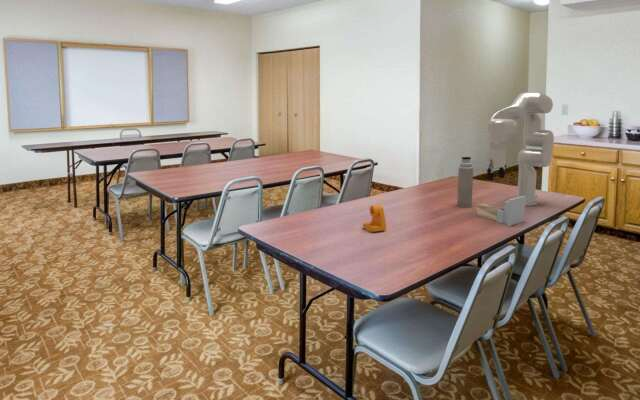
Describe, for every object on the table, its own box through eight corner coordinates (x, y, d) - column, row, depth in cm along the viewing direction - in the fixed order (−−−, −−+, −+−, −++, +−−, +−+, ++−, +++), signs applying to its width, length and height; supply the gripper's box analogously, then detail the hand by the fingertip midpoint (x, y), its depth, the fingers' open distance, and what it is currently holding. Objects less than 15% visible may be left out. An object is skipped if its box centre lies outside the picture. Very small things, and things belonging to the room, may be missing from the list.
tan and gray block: (481, 214, 265) (482, 203, 264) (509, 220, 252) (510, 208, 251) (476, 216, 262) (477, 204, 261) (504, 222, 250) (505, 210, 248)
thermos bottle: (470, 204, 289) (473, 156, 283) (472, 207, 281) (474, 158, 275) (456, 204, 291) (458, 156, 285) (457, 207, 283) (459, 158, 277)
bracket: (362, 228, 245) (362, 204, 242) (375, 226, 247) (375, 202, 245) (372, 233, 235) (373, 208, 232) (386, 231, 238) (386, 207, 235)
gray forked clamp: (494, 222, 249) (495, 197, 246) (509, 218, 257) (510, 193, 254) (509, 226, 243) (511, 199, 240) (524, 221, 251) (525, 196, 248)
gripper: (500, 143, 258) (499, 175, 262) (480, 146, 248) (479, 180, 252) (514, 144, 252) (512, 177, 256) (493, 147, 242) (492, 182, 246)
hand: (495, 179), depth 254 cm, fingers open, 9 cm apart
